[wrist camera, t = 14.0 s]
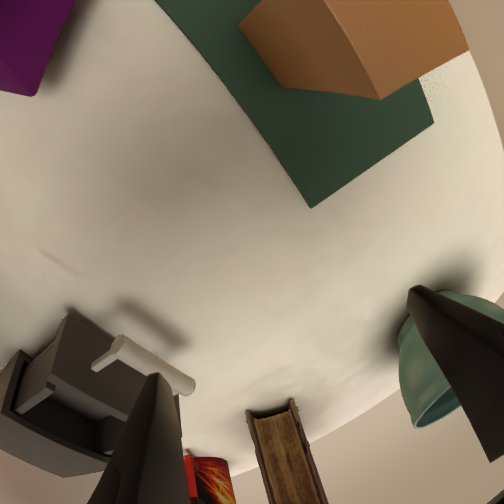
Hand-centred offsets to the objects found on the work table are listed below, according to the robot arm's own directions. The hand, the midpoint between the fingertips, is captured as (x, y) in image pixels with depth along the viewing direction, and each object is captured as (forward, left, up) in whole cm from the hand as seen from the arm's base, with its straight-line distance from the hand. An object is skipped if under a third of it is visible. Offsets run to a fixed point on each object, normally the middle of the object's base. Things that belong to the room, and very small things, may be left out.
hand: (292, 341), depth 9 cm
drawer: (+4, -19, -10) cm, 22 cm away
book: (+30, -15, -12) cm, 36 cm away
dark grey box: (+4, -32, -11) cm, 34 cm away
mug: (+32, -33, -11) cm, 48 cm away
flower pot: (+26, +10, -12) cm, 30 cm away
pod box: (-7, +9, -11) cm, 15 cm away
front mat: (-7, +10, -11) cm, 16 cm away
